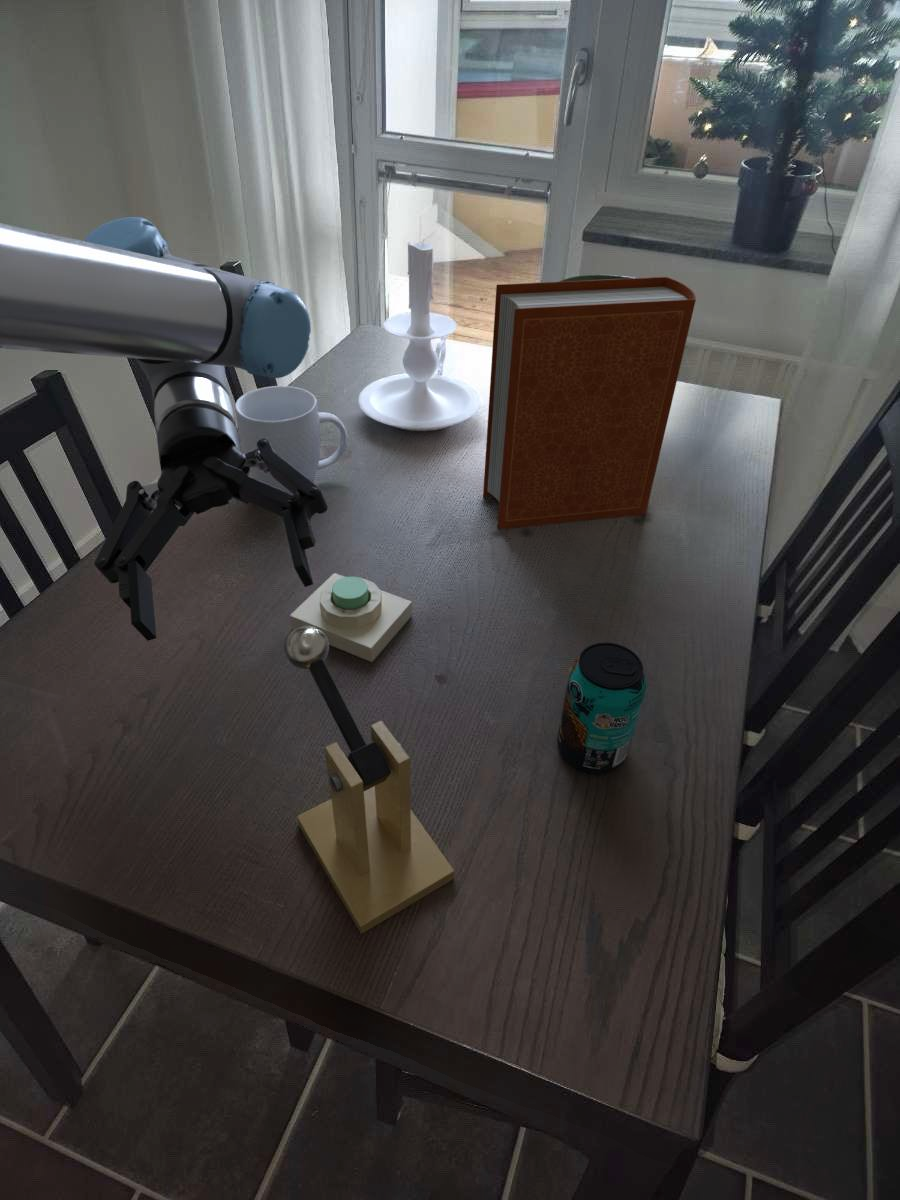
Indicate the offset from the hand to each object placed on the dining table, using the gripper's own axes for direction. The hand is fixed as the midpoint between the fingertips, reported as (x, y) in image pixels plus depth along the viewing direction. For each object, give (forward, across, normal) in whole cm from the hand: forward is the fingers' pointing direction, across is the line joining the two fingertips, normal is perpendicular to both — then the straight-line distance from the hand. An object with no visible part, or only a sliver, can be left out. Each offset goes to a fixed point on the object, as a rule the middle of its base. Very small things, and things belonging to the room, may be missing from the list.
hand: (224, 604), depth 62 cm
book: (-28, -40, -37) cm, 61 cm away
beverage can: (+13, -26, -25) cm, 38 cm away
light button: (-13, -8, -21) cm, 26 cm away
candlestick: (-60, -27, -40) cm, 77 cm away
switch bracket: (+17, -4, -18) cm, 25 cm away
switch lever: (+9, -5, -6) cm, 12 cm away
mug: (-43, -4, -31) cm, 53 cm away
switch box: (-12, -7, -25) cm, 28 cm away
